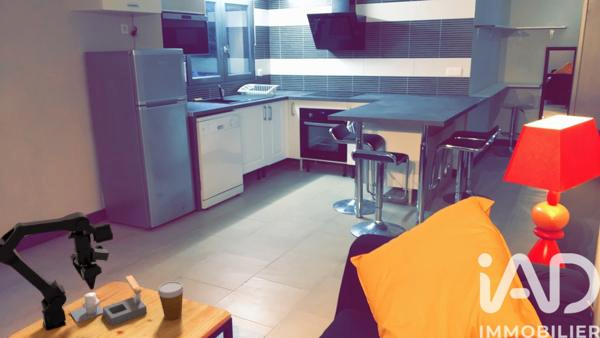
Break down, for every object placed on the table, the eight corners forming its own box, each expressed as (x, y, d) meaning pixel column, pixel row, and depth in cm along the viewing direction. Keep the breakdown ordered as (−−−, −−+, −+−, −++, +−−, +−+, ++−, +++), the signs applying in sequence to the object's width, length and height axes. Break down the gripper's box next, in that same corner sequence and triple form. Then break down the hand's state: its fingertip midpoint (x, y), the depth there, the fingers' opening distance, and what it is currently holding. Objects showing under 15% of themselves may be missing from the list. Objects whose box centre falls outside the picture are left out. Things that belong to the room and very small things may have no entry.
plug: (86, 317, 174) (84, 300, 173) (81, 311, 179) (79, 294, 177) (102, 312, 178) (100, 295, 177) (97, 305, 183) (95, 289, 181)
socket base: (112, 325, 170) (110, 308, 168) (103, 314, 178) (101, 297, 176) (146, 313, 178) (145, 296, 176) (137, 302, 186) (135, 286, 184)
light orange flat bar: (125, 279, 189) (125, 276, 189) (132, 277, 191) (131, 275, 190) (135, 294, 178) (134, 291, 177) (141, 292, 179) (141, 289, 179)
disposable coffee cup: (158, 312, 179) (155, 283, 176) (183, 306, 183) (181, 278, 180) (162, 324, 170) (159, 295, 167) (188, 318, 174) (186, 289, 171)
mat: (76, 323, 172) (76, 321, 172) (70, 312, 179) (69, 311, 179) (104, 313, 178) (104, 312, 178) (97, 303, 185) (96, 302, 185)
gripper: (113, 248, 170) (118, 286, 174) (97, 233, 184) (102, 269, 188) (81, 256, 163) (87, 296, 167) (67, 240, 177) (72, 278, 181)
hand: (88, 284), depth 176 cm, fingers open, 9 cm apart
